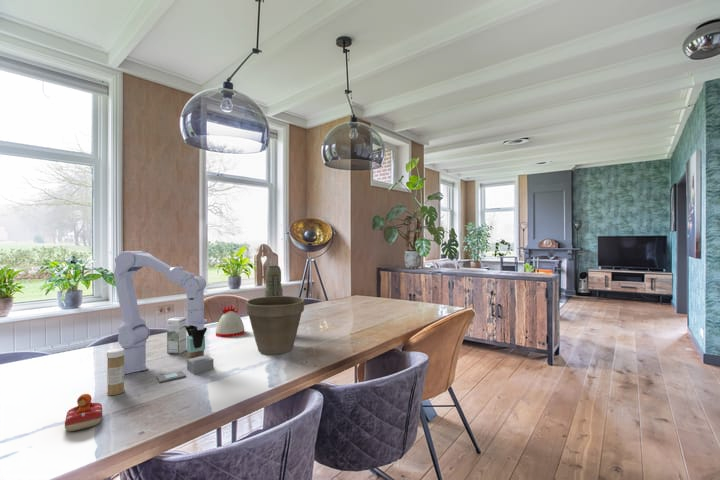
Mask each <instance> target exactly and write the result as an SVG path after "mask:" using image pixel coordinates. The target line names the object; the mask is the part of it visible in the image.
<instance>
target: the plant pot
mask: <svg viewBox="0 0 720 480" xmlns="http://www.w3.org/2000/svg"><path fill="white" fill-rule="evenodd" d="M245 311H246V313H245V314H247V315H248V317H249V321H250V322H249V323H250V325H251V329H252V333H253V337H254V340H255V343H256V347H257V350H258V352H259V353H261V354H263V355H271V356H275V355H281V354H286V353H288V352H291V351H292V350H293V348H294V346H295V342H296V337H297V334H298V330H299V325H300V321H301V318H302V313H303V312H304V311H305V299H304V298H303V297H297V296H288V295H287V296H286V295H283V296H271V297H265V296H263V297H256V298H251V299H248V300H247V301H246V302H245Z"/></svg>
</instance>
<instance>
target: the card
mask: <svg viewBox="0 0 720 480" xmlns="http://www.w3.org/2000/svg"><path fill="white" fill-rule="evenodd" d="M186 377H187V376H186V374H185V373H184V371H183V370H179V371H174V372H170V373H169V372H168V373H166V374H165V373H164V374H161V375H156V379H157V381H158V383H159V384H162V383H166V382H170V381H174V380H179V379H183V378H186Z"/></svg>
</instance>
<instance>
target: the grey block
mask: <svg viewBox="0 0 720 480" xmlns="http://www.w3.org/2000/svg"><path fill="white" fill-rule="evenodd" d="M214 363H215V362H214V358H212V357H211V356H209V355H207V354H204V356H200V357H195V358H191V359H187V358H186V369H187V371H188V372H190V373H191V374H193V375H197V374H201V373H205V372H208V371H212V370H215V369H214V367H215V365H214Z"/></svg>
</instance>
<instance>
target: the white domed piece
mask: <svg viewBox="0 0 720 480" xmlns="http://www.w3.org/2000/svg"><path fill="white" fill-rule="evenodd" d="M238 310H239V308H237V309H236V306H234V307H233V305H232V304H231V305H229V304H228V305H227V308H226V305H224V306H223V308H221V311H222V313H223V314H222V315H221V317H220V318H219V320H217V322H218V323H217V325H216V328H215V337H217V338H233V337H234V338H235V337H239V336H242V335H244V334H245V326H244V323H243V320H242V318H241V316H240V315H239V313H238Z"/></svg>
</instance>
